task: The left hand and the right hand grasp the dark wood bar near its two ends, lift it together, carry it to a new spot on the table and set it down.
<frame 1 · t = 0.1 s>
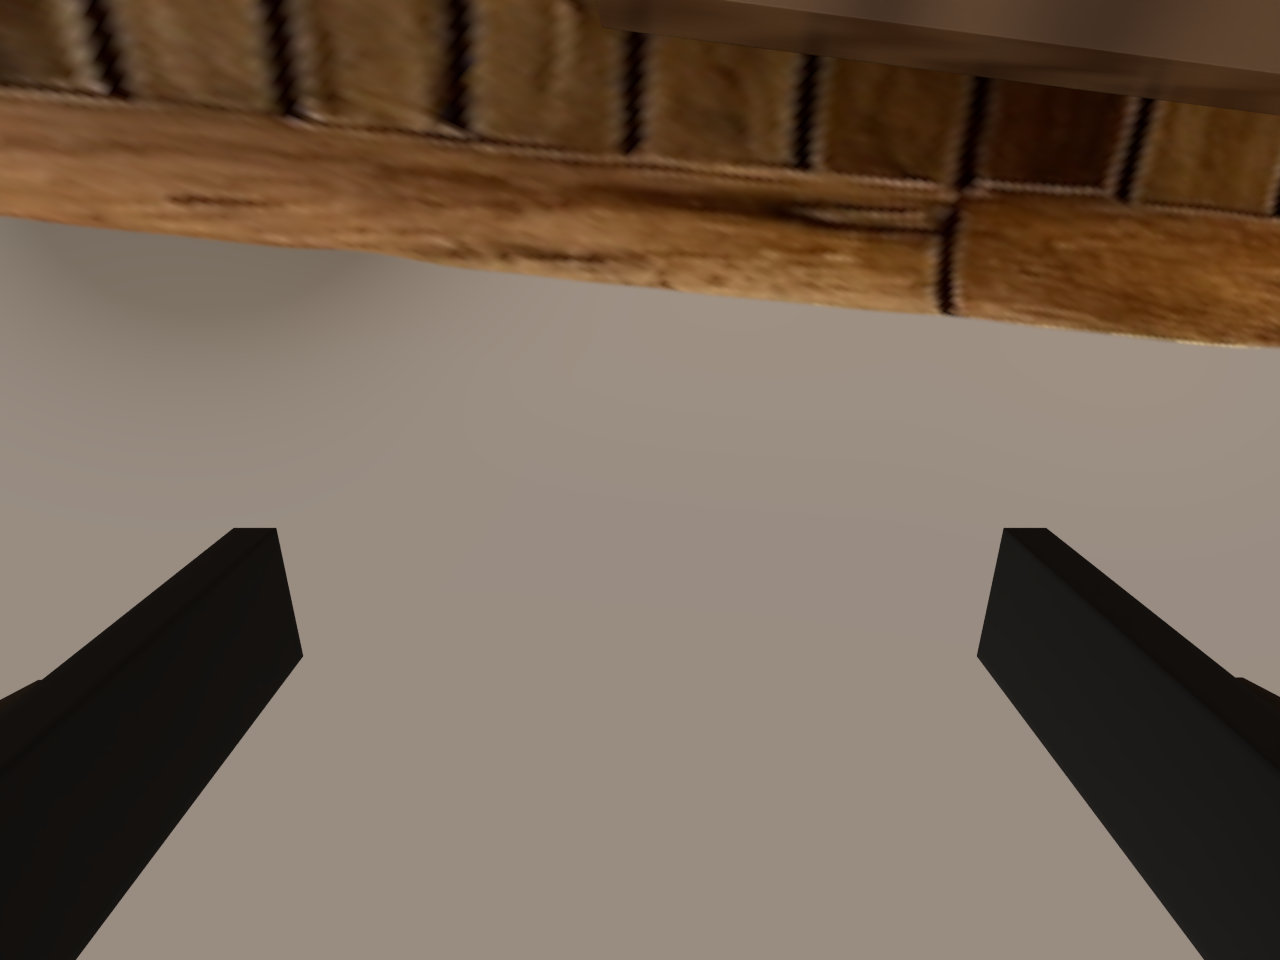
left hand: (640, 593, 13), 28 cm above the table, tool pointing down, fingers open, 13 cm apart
bar: (1232, 47, 34), on the table
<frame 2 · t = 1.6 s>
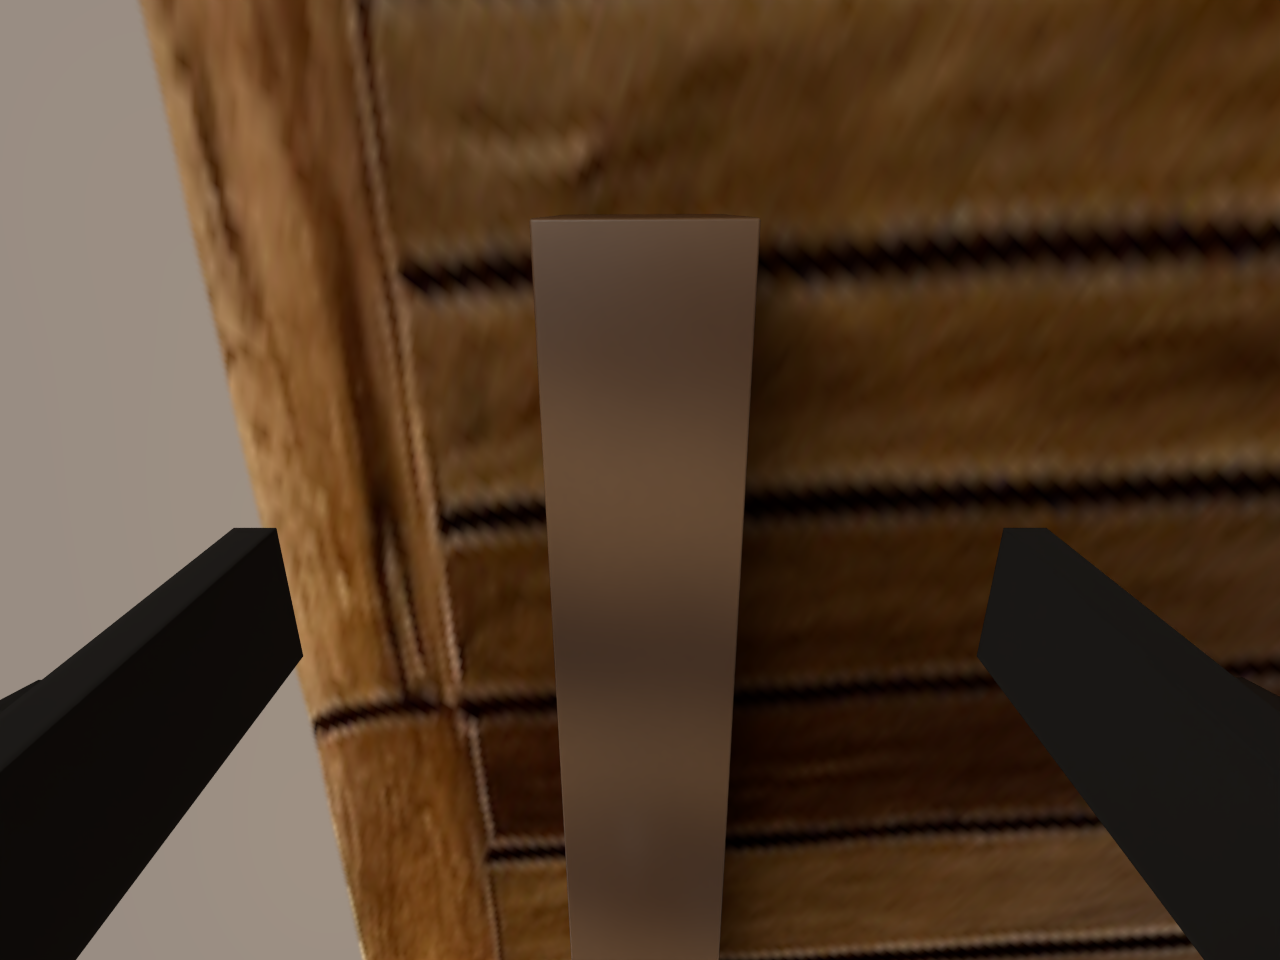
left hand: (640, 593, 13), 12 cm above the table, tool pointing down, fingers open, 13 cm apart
bar: (644, 900, 33), on the table
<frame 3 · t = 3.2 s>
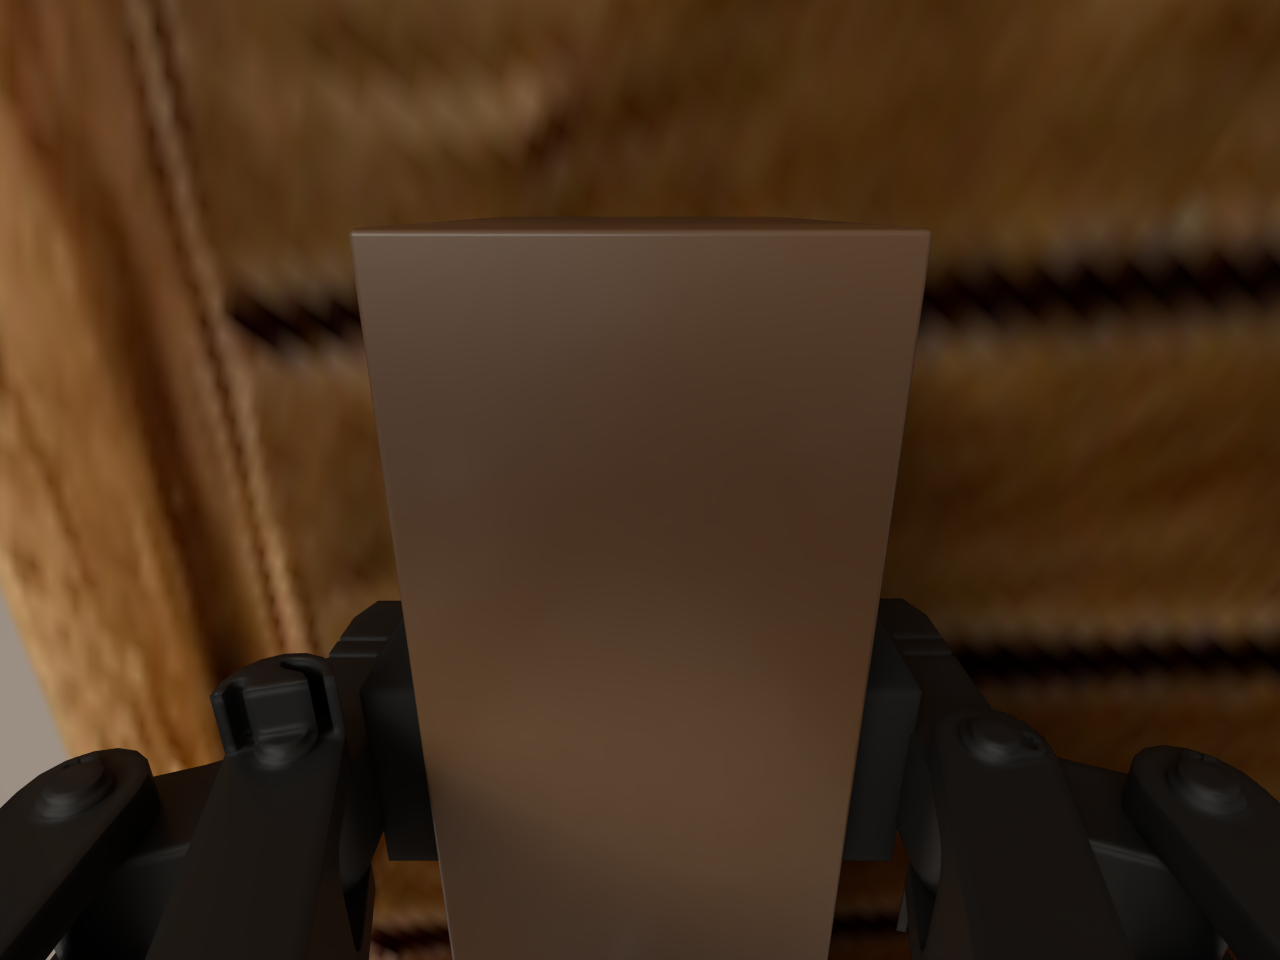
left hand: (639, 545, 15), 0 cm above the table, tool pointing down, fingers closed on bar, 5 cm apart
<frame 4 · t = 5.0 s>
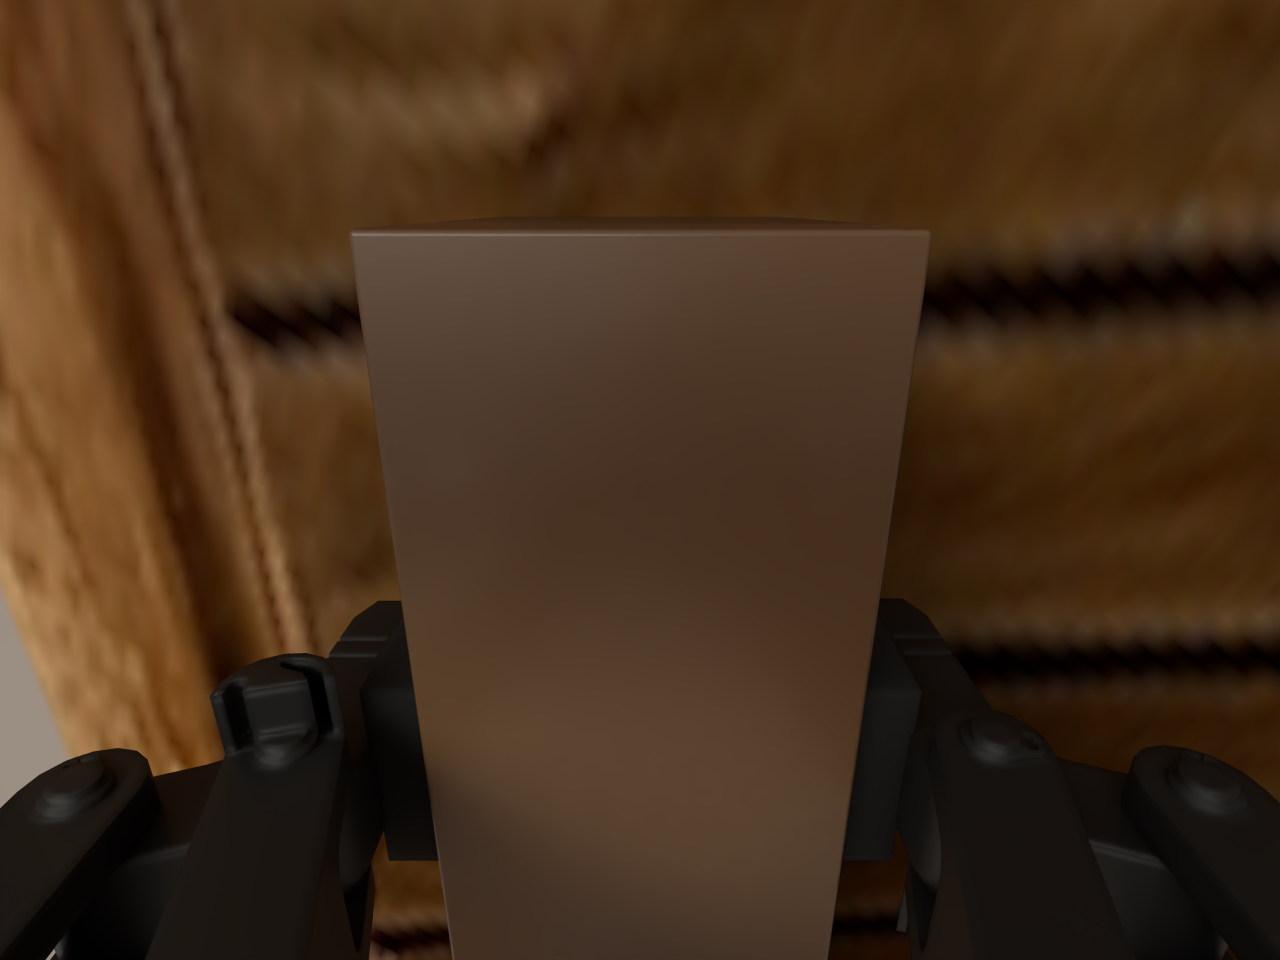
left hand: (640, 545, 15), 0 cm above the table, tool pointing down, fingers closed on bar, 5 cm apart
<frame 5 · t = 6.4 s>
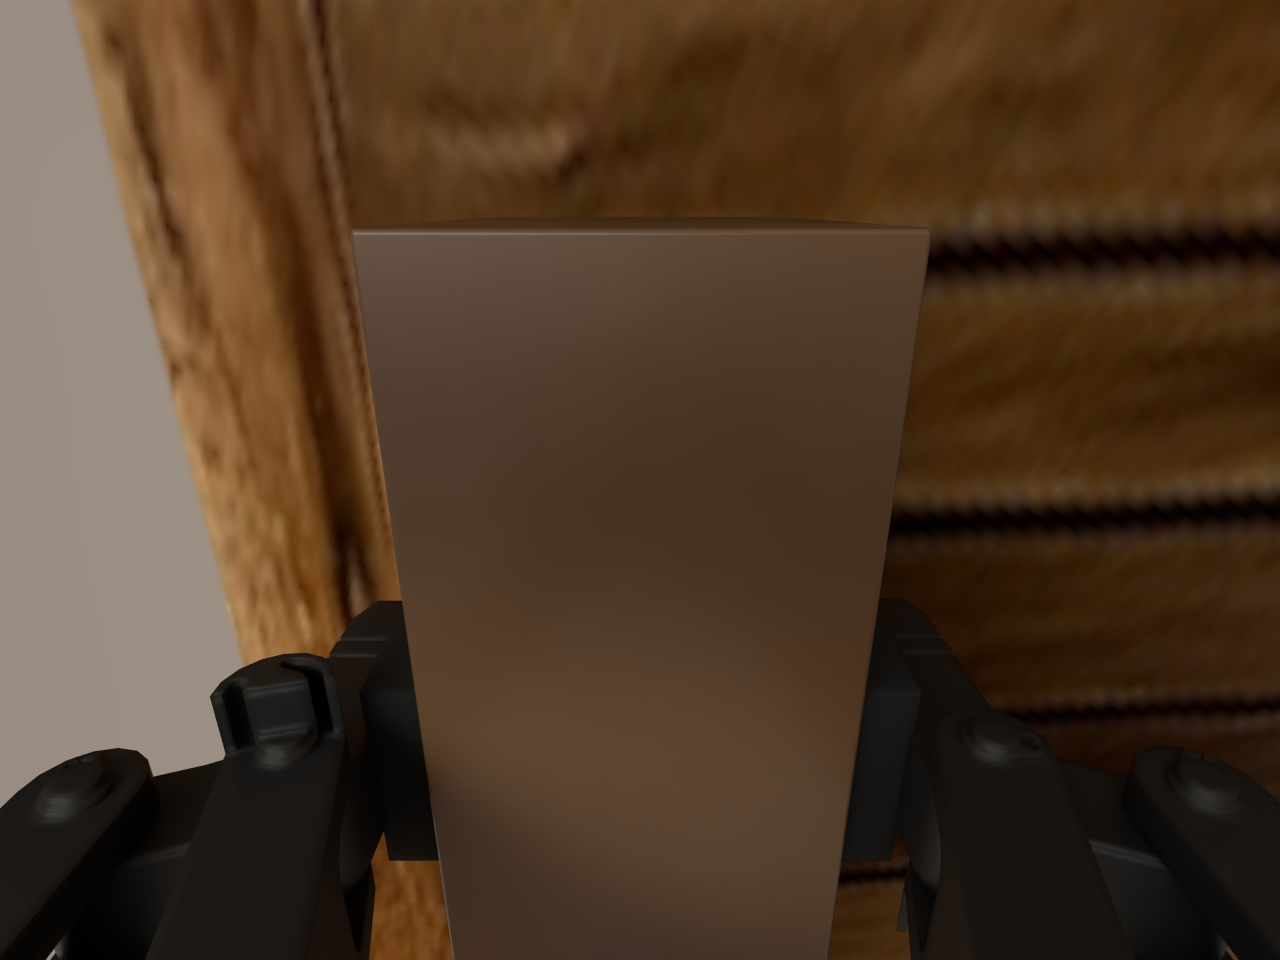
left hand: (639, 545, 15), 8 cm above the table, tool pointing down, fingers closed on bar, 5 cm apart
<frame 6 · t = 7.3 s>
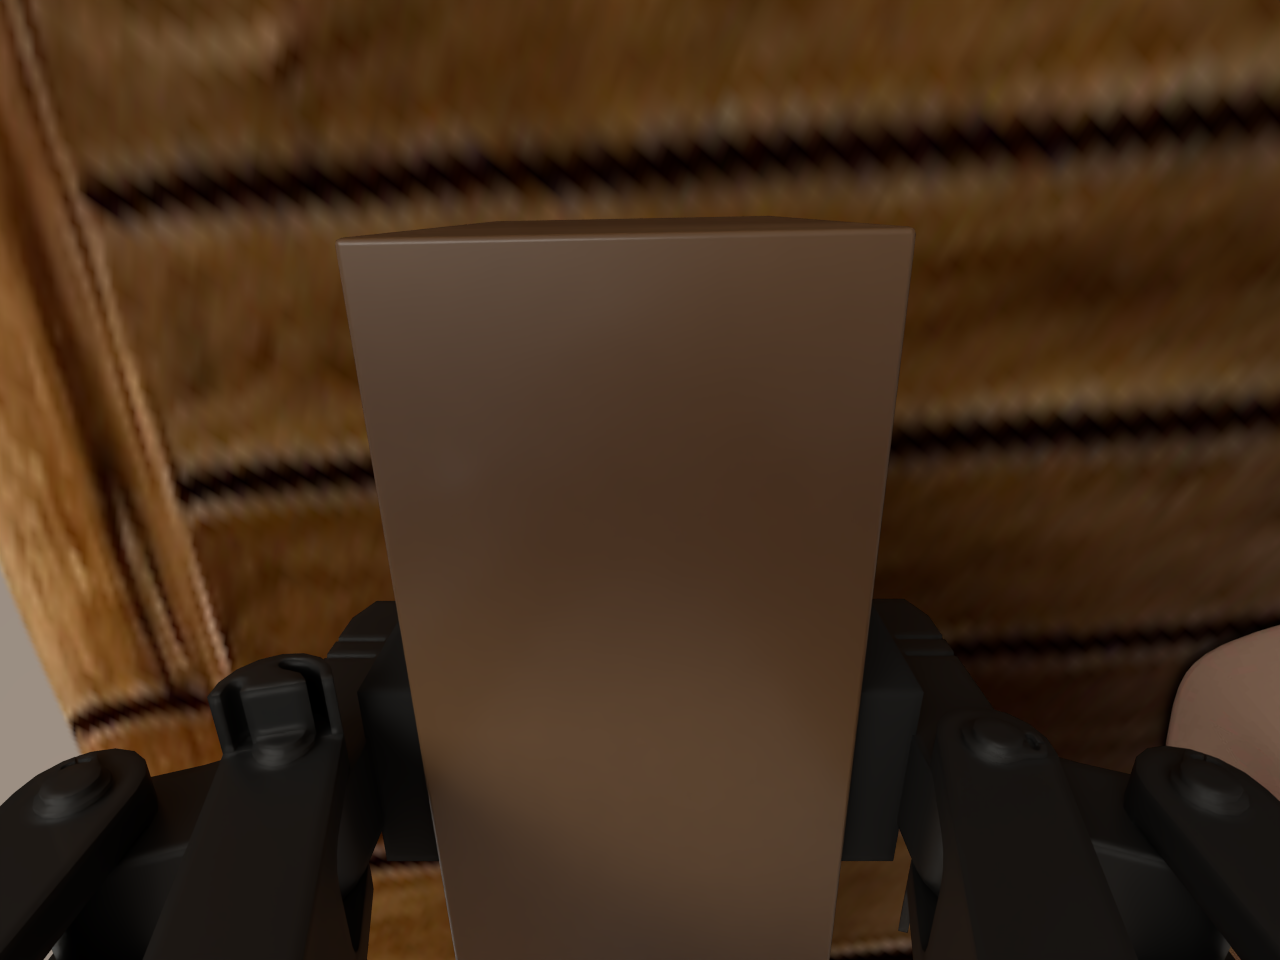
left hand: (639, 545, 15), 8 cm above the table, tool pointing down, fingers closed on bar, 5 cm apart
when the left hand's fingers open (1 cm above the table, at t = 9.7 s): bar stays where it is, on the table.
when the right hand's fingers open (1 cm above the table, at t = 9.8 s): bar stays where it is, on the table.
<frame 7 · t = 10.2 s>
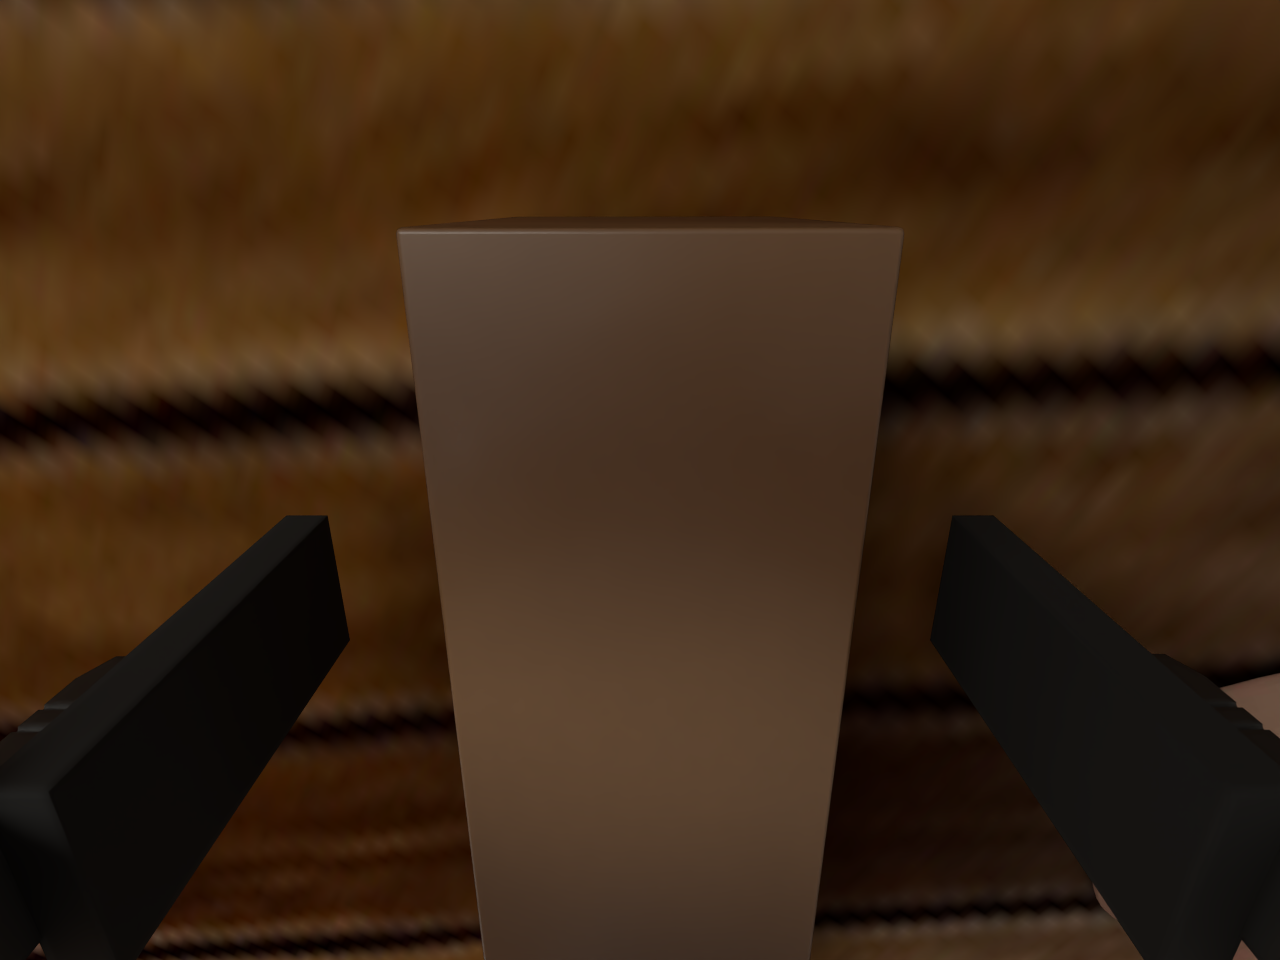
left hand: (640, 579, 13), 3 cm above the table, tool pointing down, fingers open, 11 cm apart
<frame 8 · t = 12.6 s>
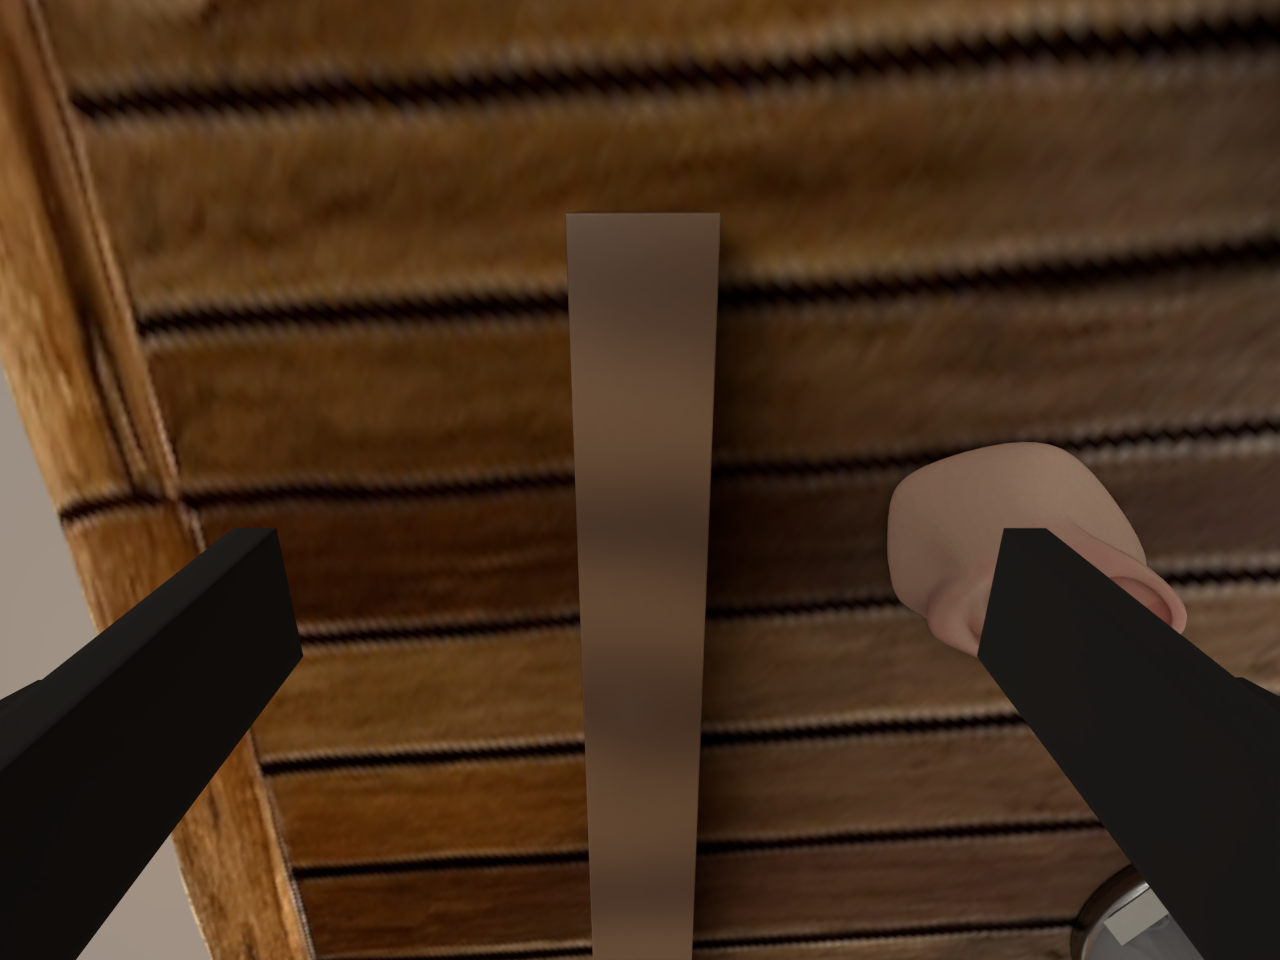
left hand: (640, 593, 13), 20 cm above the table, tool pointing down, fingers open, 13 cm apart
anatomical model: (1005, 550, 35), on the table
bar: (642, 772, 41), on the table
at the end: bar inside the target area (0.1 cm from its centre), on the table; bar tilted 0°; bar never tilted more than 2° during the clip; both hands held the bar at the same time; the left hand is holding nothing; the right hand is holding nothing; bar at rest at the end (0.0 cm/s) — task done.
